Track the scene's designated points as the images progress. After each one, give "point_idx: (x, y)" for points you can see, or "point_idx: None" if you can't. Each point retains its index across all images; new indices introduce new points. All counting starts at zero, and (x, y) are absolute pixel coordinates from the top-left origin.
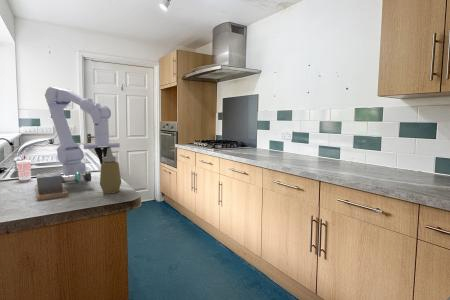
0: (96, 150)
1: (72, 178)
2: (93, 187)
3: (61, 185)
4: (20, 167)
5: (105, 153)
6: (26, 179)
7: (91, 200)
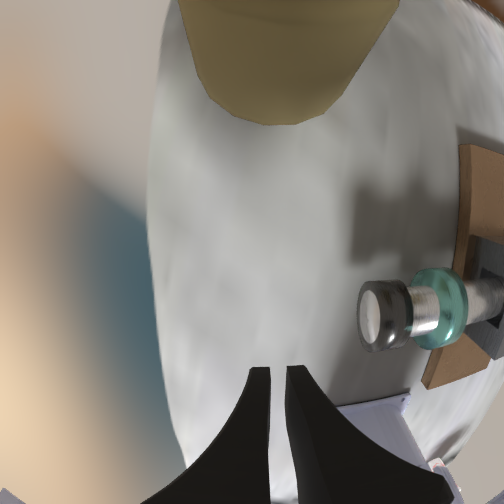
0: (450, 494)
1: (465, 286)
2: (337, 264)
3: (490, 239)
4: None
5: (258, 477)
6: (432, 460)
7: None
